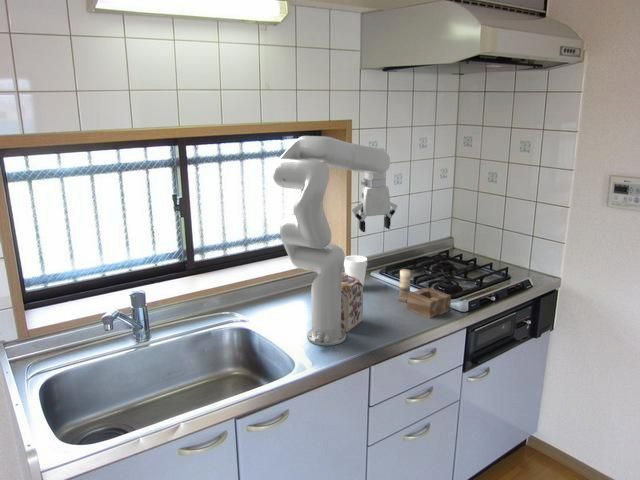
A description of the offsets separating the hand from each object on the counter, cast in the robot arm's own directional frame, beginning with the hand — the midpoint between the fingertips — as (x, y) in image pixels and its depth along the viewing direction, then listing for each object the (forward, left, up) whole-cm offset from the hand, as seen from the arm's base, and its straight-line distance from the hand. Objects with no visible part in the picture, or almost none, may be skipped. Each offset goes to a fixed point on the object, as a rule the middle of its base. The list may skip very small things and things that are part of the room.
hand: (374, 229), depth 189 cm
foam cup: (+15, +9, -29) cm, 34 cm away
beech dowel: (+6, -11, -29) cm, 32 cm away
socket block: (-2, -20, -29) cm, 35 cm away
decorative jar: (-19, +10, -29) cm, 36 cm away
